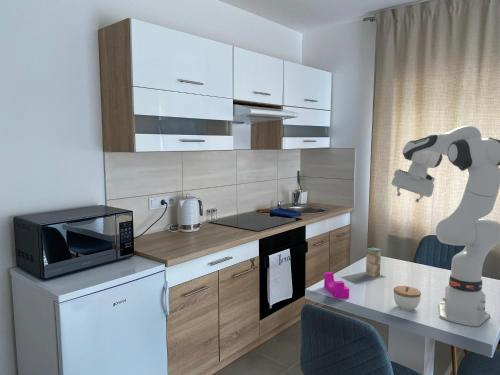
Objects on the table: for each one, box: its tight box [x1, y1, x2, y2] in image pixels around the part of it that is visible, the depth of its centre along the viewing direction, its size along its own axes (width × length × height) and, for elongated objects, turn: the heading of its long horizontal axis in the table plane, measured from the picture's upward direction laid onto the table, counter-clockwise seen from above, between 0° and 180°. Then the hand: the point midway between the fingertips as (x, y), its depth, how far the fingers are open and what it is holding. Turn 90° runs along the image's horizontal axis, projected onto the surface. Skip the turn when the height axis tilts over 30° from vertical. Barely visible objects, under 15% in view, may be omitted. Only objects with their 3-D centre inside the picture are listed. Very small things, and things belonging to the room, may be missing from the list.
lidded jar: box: [393, 285, 422, 312], centre depth 161 cm, size 11×11×9 cm
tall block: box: [365, 247, 382, 277], centre depth 201 cm, size 5×5×14 cm
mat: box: [340, 271, 387, 285], centre depth 198 cm, size 22×11×1 cm, turn 120°
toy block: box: [323, 271, 350, 300], centre depth 178 cm, size 15×6×8 cm, turn 9°
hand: (407, 199), depth 195 cm, fingers open, 8 cm apart
